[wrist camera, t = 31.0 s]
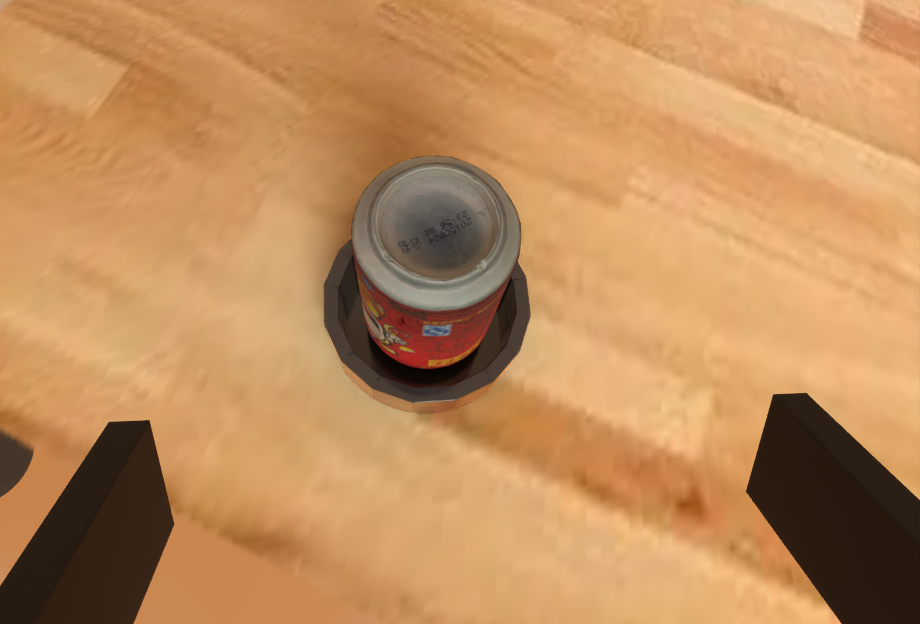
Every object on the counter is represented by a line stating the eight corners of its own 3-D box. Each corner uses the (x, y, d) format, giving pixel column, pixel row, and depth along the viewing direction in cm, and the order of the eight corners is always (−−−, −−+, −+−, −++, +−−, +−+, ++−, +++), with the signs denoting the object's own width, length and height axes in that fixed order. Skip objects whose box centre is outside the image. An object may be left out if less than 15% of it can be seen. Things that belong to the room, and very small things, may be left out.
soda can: (341, 300, 37) (314, 195, 25) (442, 240, 38) (461, 117, 27) (408, 401, 35) (414, 340, 23) (510, 334, 37) (562, 246, 25)
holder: (379, 447, 35) (376, 439, 31) (300, 277, 37) (291, 253, 34) (551, 362, 37) (566, 346, 34) (466, 209, 40) (471, 180, 37)
